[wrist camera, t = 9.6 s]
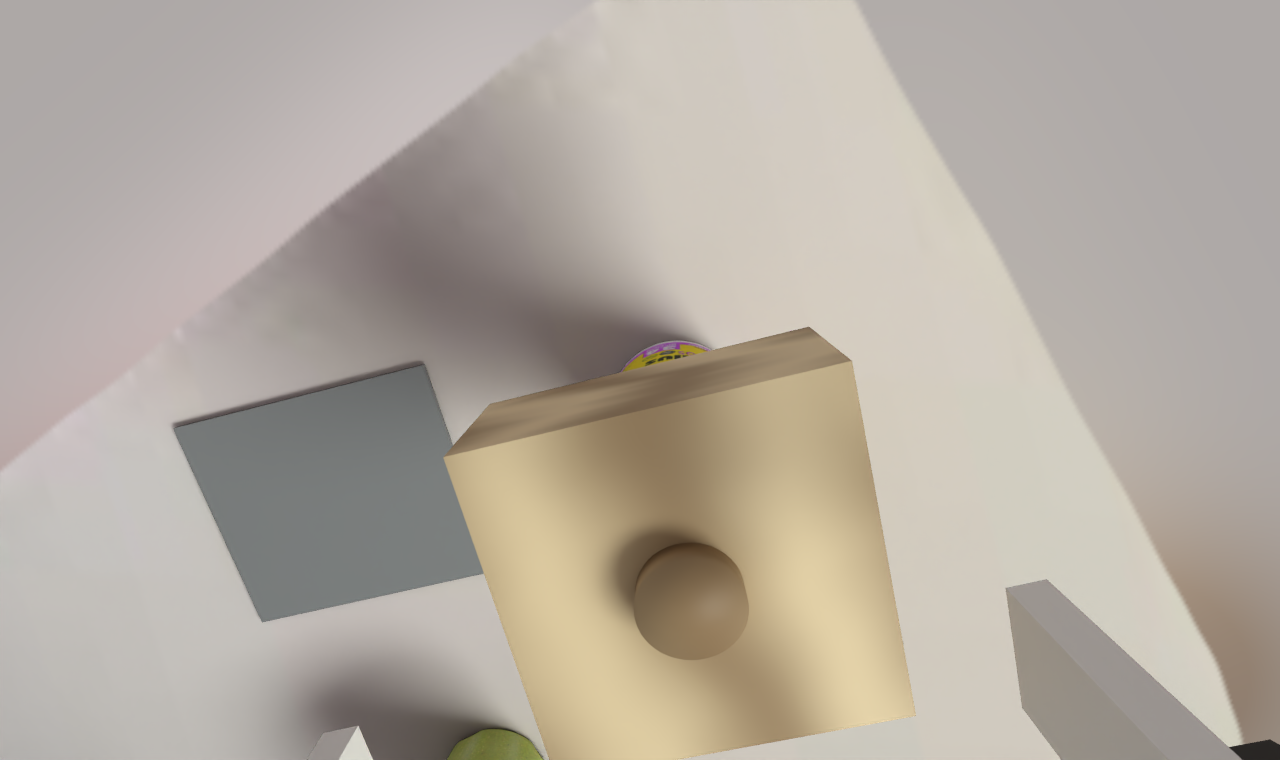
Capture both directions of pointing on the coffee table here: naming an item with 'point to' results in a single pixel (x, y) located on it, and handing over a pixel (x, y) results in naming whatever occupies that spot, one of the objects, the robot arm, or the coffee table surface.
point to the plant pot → (494, 747)
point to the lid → (689, 553)
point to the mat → (335, 494)
